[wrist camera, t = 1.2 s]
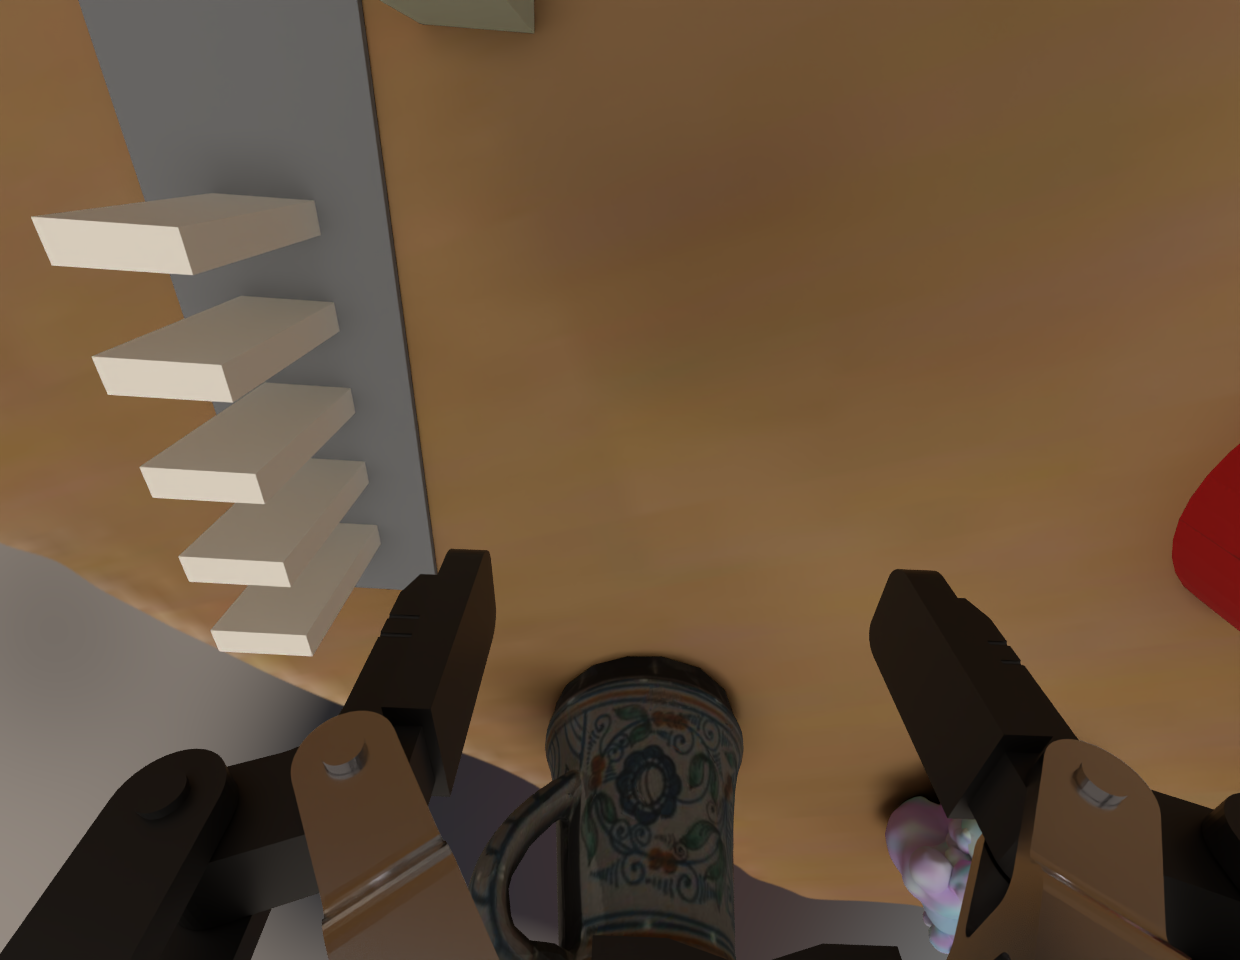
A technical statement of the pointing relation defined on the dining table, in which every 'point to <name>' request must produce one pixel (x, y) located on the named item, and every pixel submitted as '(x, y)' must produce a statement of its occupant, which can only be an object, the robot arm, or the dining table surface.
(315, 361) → the mat
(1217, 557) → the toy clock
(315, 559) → the domino
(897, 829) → the swirly pastel blob
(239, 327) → the domino
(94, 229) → the domino
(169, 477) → the domino
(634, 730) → the beer stein
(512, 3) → the domino
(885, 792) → the dining table surface
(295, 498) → the domino
